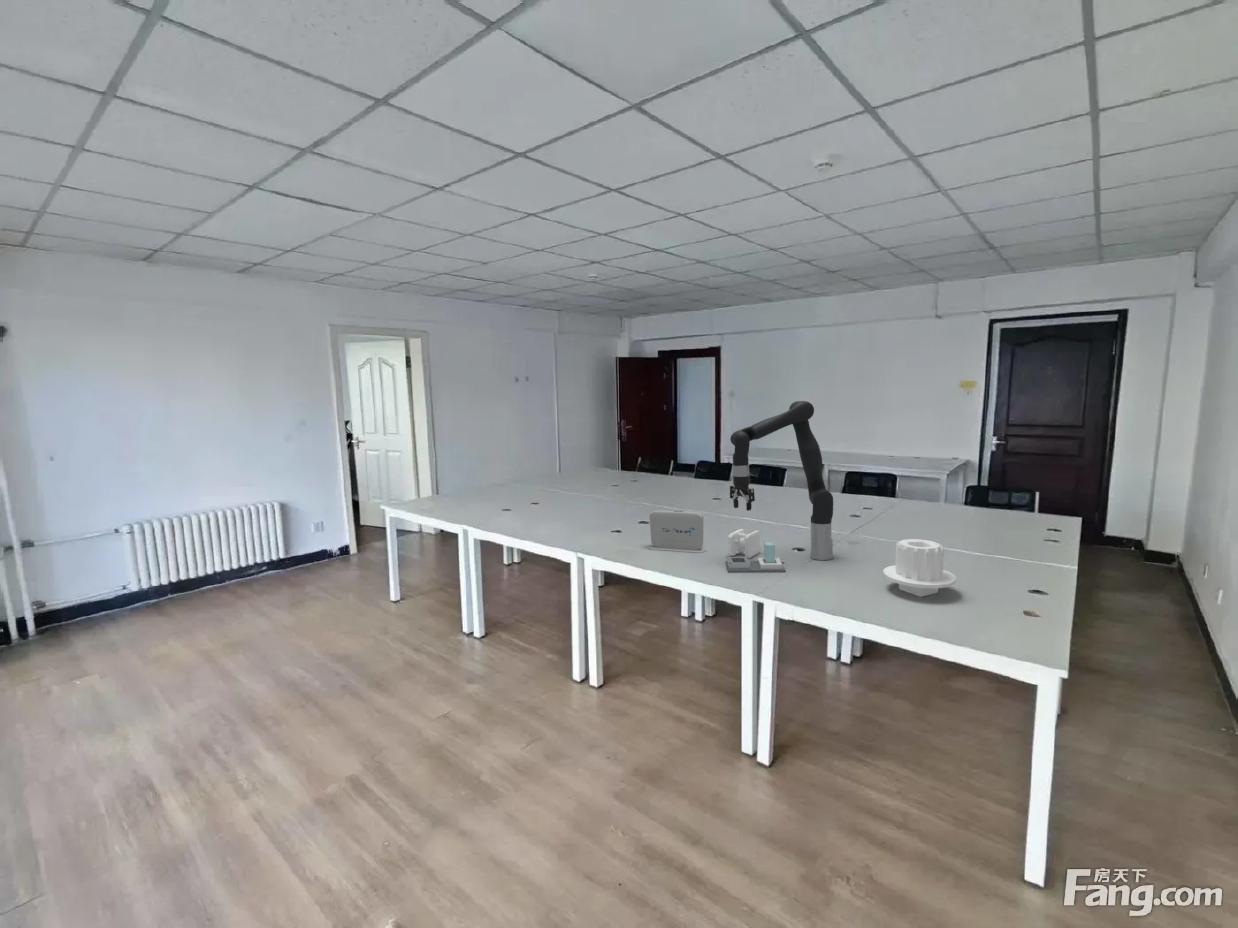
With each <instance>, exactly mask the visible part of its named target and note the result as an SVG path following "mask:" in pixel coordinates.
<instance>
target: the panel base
mask: <svg viewBox="0 0 1238 928" xmlns="http://www.w3.org/2000/svg"><path fill="white" fill-rule="evenodd" d="M749 562H750V569H729V568H728V564H727V560H725V562H724V563H725V566H726V571H727V573H731V574H732V573H739V574H740V573H743V574H744V573H786V569H785V567H784V565H783V564H782V569H760V566H759V564H758V562H757V560H749Z"/></svg>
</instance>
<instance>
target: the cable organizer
mask: <svg viewBox="0 0 1238 928" xmlns="http://www.w3.org/2000/svg"><path fill="white" fill-rule="evenodd" d="M727 539H728V540H727V541H728V543H727V544H728V555H729V556H730V557H736V556H737V554H738V555H739V554H740V553H743V555H744V557H748V559H749V560H750V559H751V558H753V557H754V556H757V555H758V554H759V553H761V532H760V530H754V531H752V532H750V533H749V534H746V531H745V529H743V528H739V529H738V530H736V531H735V530H734V531H733V532H731V533H729V534H728V536H727Z"/></svg>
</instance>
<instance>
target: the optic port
mask: <svg viewBox="0 0 1238 928" xmlns="http://www.w3.org/2000/svg"><path fill="white" fill-rule="evenodd" d="M726 561H727V564H728V568H729V569H750V562H749V561H750V559H749V558H748V557H746V556H726Z"/></svg>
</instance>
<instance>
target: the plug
mask: <svg viewBox="0 0 1238 928" xmlns="http://www.w3.org/2000/svg"><path fill="white" fill-rule="evenodd" d="M763 558H764V561H765V563H775V558H776V545H775V543H774V542H770V541H767V542H763Z"/></svg>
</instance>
